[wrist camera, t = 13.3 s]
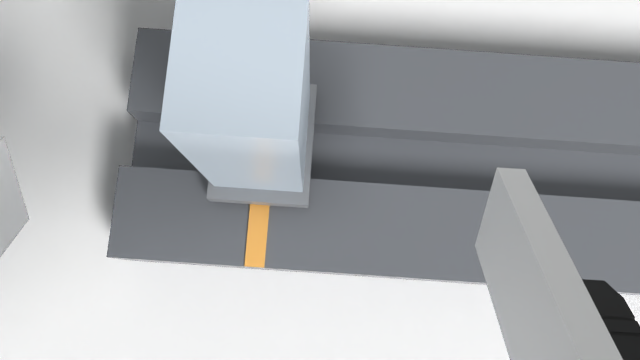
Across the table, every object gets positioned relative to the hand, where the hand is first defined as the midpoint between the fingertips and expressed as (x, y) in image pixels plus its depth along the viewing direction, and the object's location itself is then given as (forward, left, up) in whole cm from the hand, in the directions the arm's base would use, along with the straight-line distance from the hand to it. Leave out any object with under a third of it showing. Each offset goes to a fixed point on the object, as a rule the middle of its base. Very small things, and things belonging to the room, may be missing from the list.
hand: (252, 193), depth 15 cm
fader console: (+5, +6, -11) cm, 13 cm away
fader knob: (-2, +2, -9) cm, 9 cm away
